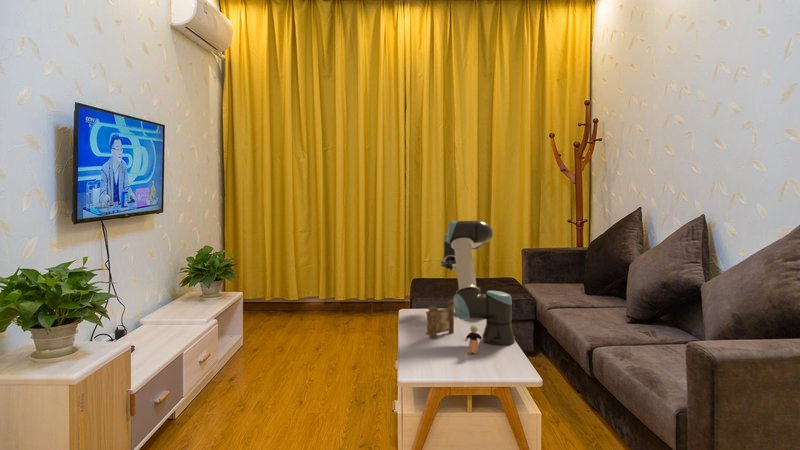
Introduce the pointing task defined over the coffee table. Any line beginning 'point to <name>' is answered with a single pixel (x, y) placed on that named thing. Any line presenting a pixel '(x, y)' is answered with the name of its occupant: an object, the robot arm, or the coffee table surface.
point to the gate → (440, 320)
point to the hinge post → (451, 316)
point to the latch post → (432, 322)
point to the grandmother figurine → (473, 340)
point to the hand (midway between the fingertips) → (454, 268)
